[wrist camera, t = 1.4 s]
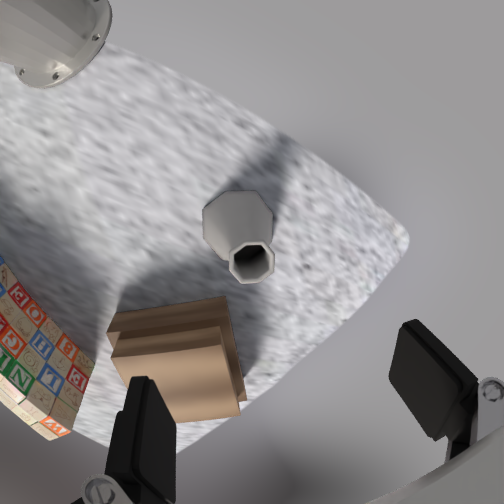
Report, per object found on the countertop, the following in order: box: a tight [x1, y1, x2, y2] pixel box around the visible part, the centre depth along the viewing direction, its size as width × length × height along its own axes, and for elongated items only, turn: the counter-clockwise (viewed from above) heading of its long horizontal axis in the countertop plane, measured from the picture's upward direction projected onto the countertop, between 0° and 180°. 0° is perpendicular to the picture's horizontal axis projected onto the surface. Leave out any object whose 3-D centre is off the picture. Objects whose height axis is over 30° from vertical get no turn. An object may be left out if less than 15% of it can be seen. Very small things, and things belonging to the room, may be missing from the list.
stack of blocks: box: [0, 256, 95, 440], centre depth 23 cm, size 21×6×12 cm, turn 34°
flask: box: [202, 191, 275, 284], centre depth 24 cm, size 7×7×10 cm
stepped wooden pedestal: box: [106, 296, 247, 423], centre depth 29 cm, size 13×13×7 cm
